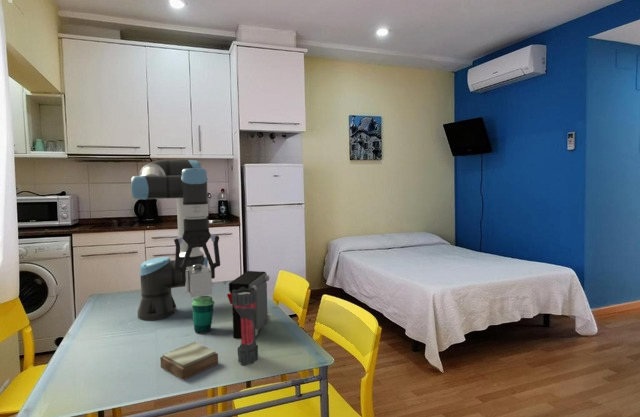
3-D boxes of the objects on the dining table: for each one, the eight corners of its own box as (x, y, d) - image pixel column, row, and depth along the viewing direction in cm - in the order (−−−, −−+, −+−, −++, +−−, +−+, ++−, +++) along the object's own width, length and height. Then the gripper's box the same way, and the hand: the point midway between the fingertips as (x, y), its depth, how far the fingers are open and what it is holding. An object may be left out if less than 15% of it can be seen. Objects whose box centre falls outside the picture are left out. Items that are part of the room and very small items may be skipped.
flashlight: (236, 370, 113) (234, 295, 111) (231, 359, 120) (229, 288, 118) (261, 365, 116) (260, 291, 114) (255, 354, 123) (253, 285, 121)
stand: (160, 367, 115) (160, 354, 115) (195, 352, 124) (195, 340, 124) (183, 380, 108) (182, 366, 107) (218, 363, 117) (217, 351, 117)
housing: (191, 297, 115) (190, 271, 114) (186, 288, 124) (185, 264, 124) (211, 294, 117) (211, 268, 117) (205, 285, 127) (204, 262, 126)
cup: (188, 332, 141) (186, 300, 140) (201, 324, 148) (200, 294, 147) (206, 335, 138) (205, 303, 137) (219, 326, 146) (218, 296, 145)
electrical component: (255, 340, 134) (253, 284, 132) (228, 337, 136) (226, 283, 134) (271, 321, 151) (270, 271, 149) (247, 319, 153) (246, 270, 151)
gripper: (163, 220, 112) (166, 297, 114) (229, 217, 119) (231, 289, 121) (162, 218, 119) (166, 290, 120) (225, 215, 126) (227, 283, 128)
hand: (198, 289), depth 121 cm, fingers closed on housing, 6 cm apart
